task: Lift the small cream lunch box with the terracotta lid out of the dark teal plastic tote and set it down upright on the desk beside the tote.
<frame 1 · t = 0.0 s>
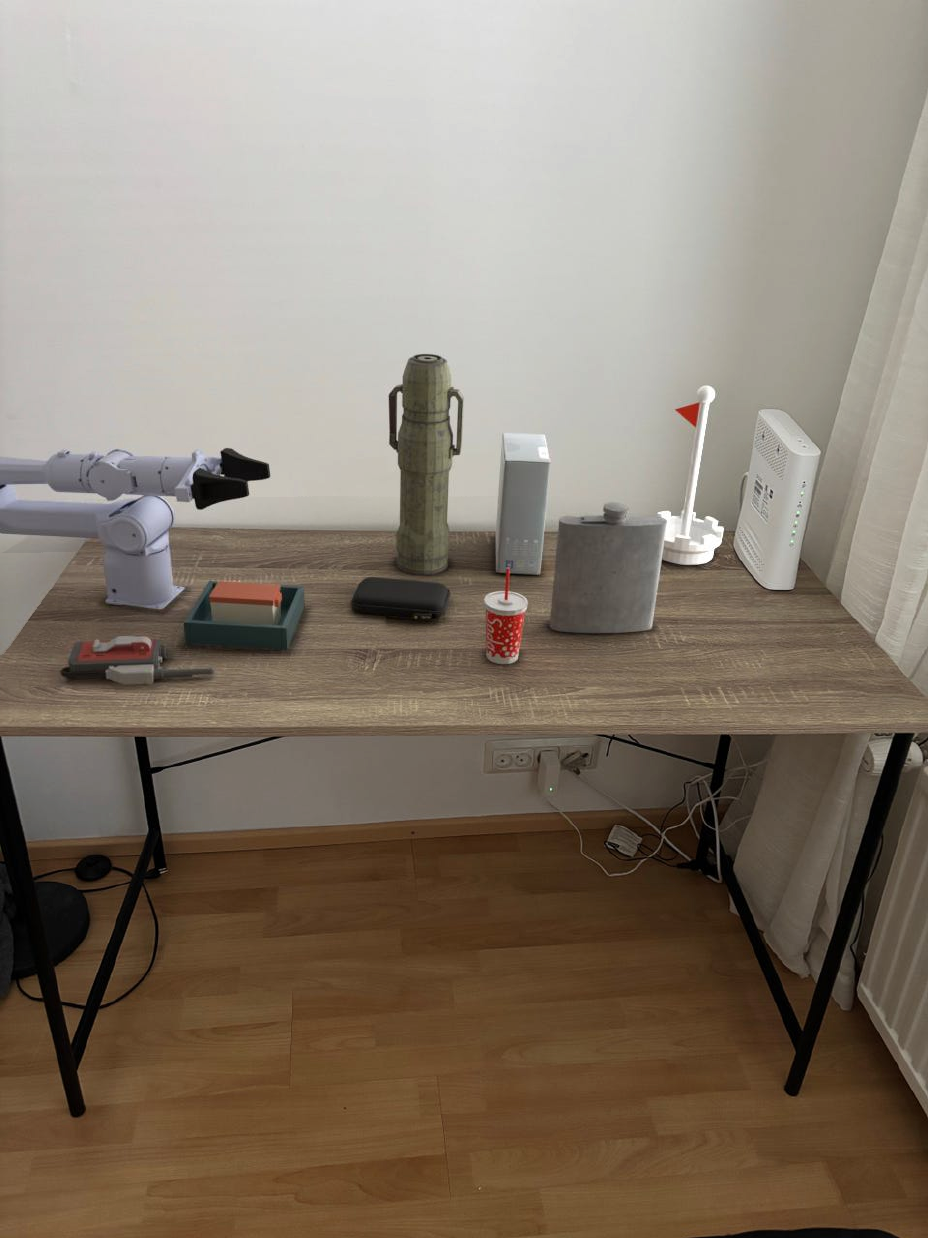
hand: (258, 479, 145), 22 cm above the table, tool horizontal, fingers open, 7 cm apart
lunchbox: (247, 623, 152), point 1 cm above the table, touching tote
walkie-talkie: (141, 672, 140), on the table
thermos: (422, 564, 174), on the table
carrying case: (400, 609, 159), on the table
flag stand: (681, 552, 183), on the table
beverage cup: (502, 657, 147), on the table
tote: (247, 627, 152), on the table
hip flask: (601, 628, 156), on the table
hard drive box: (516, 557, 179), on the table
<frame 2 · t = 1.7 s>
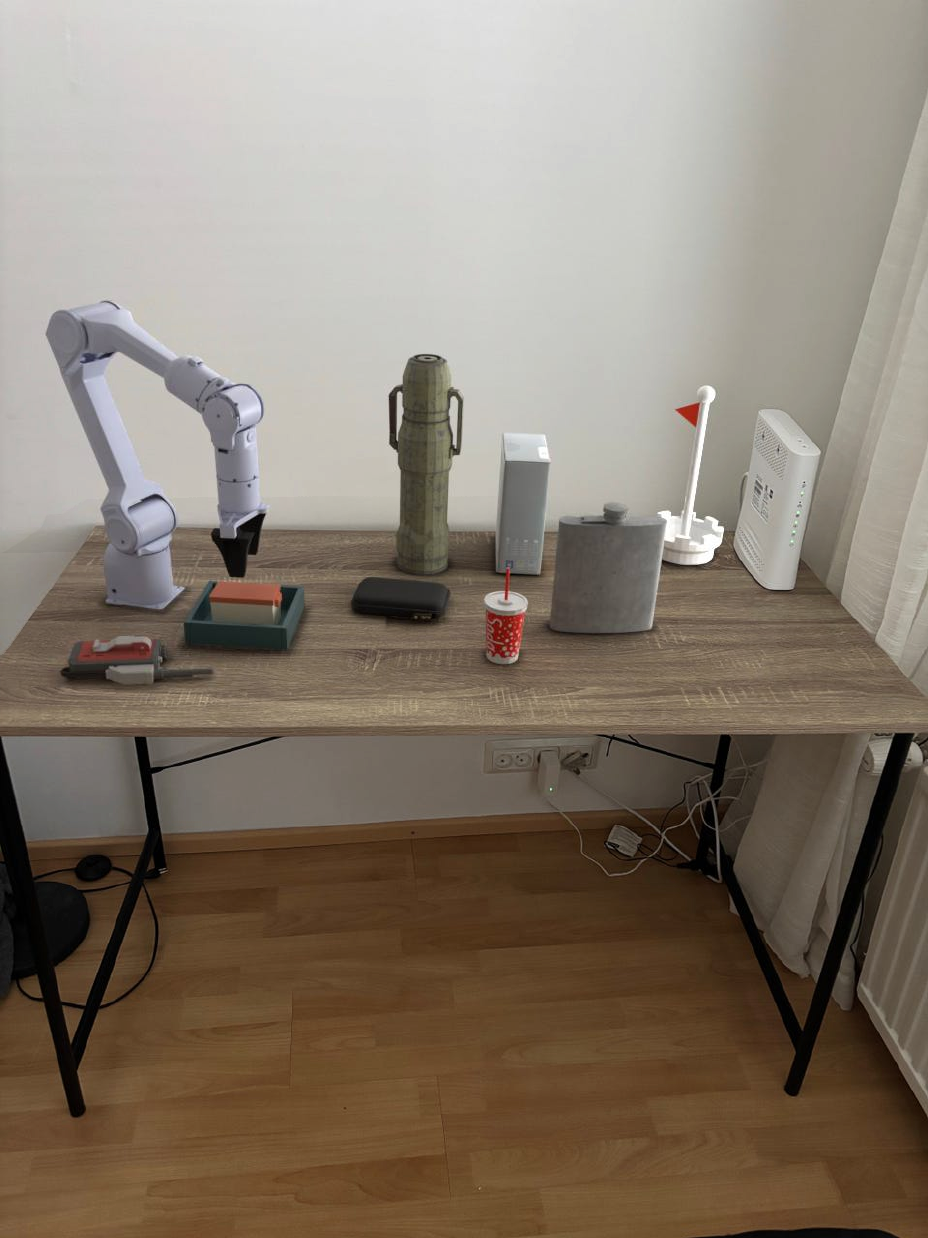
hand: (243, 565, 147), 10 cm above the table, tool pointing down, fingers open, 7 cm apart
nothing on the table moved.
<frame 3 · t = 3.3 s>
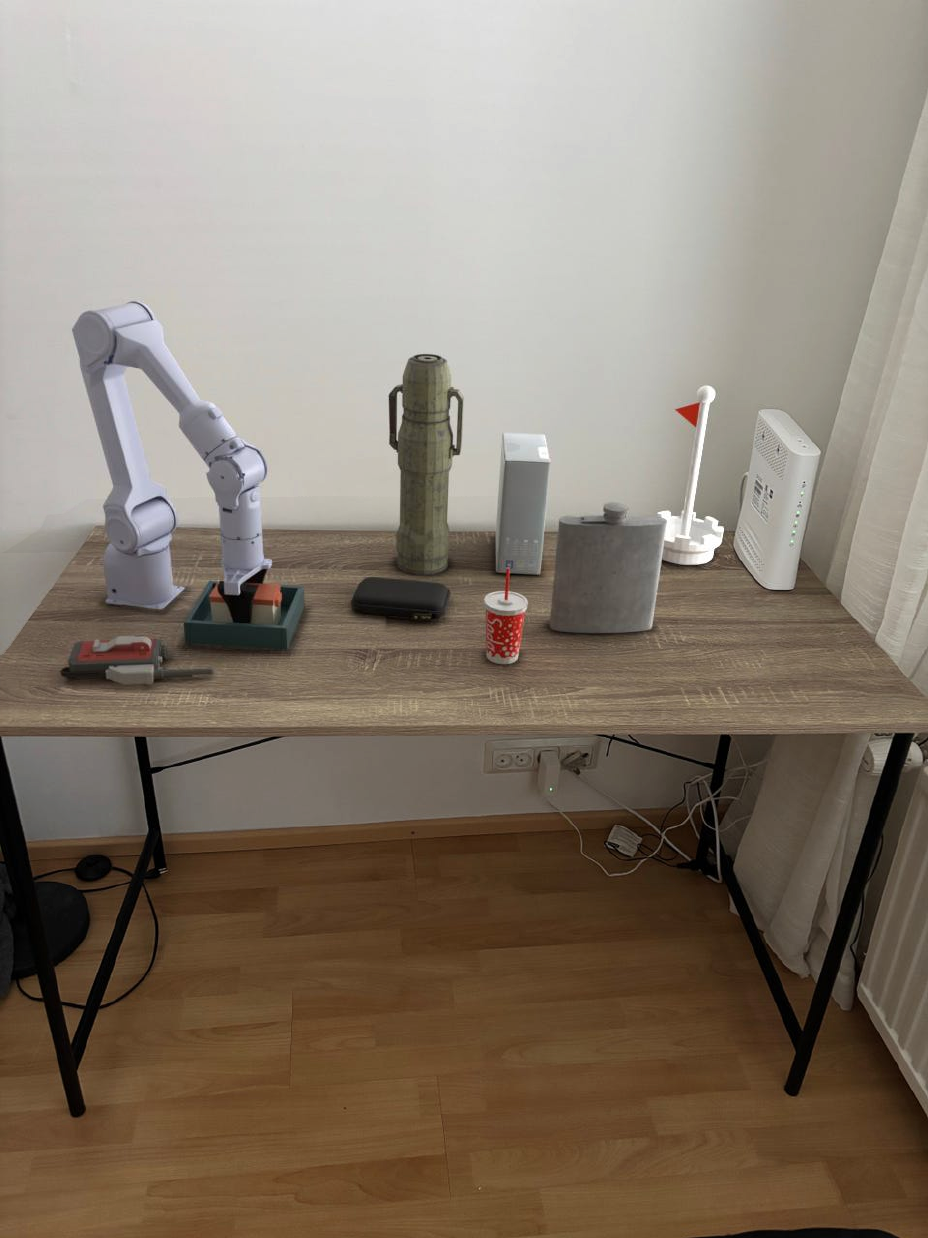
hand: (246, 617, 151), 2 cm above the table, tool pointing down, fingers closed on lunchbox, 5 cm apart
lunchbox: (247, 623, 152), point 1 cm above the table, touching gripper, tote
everything else where it was.
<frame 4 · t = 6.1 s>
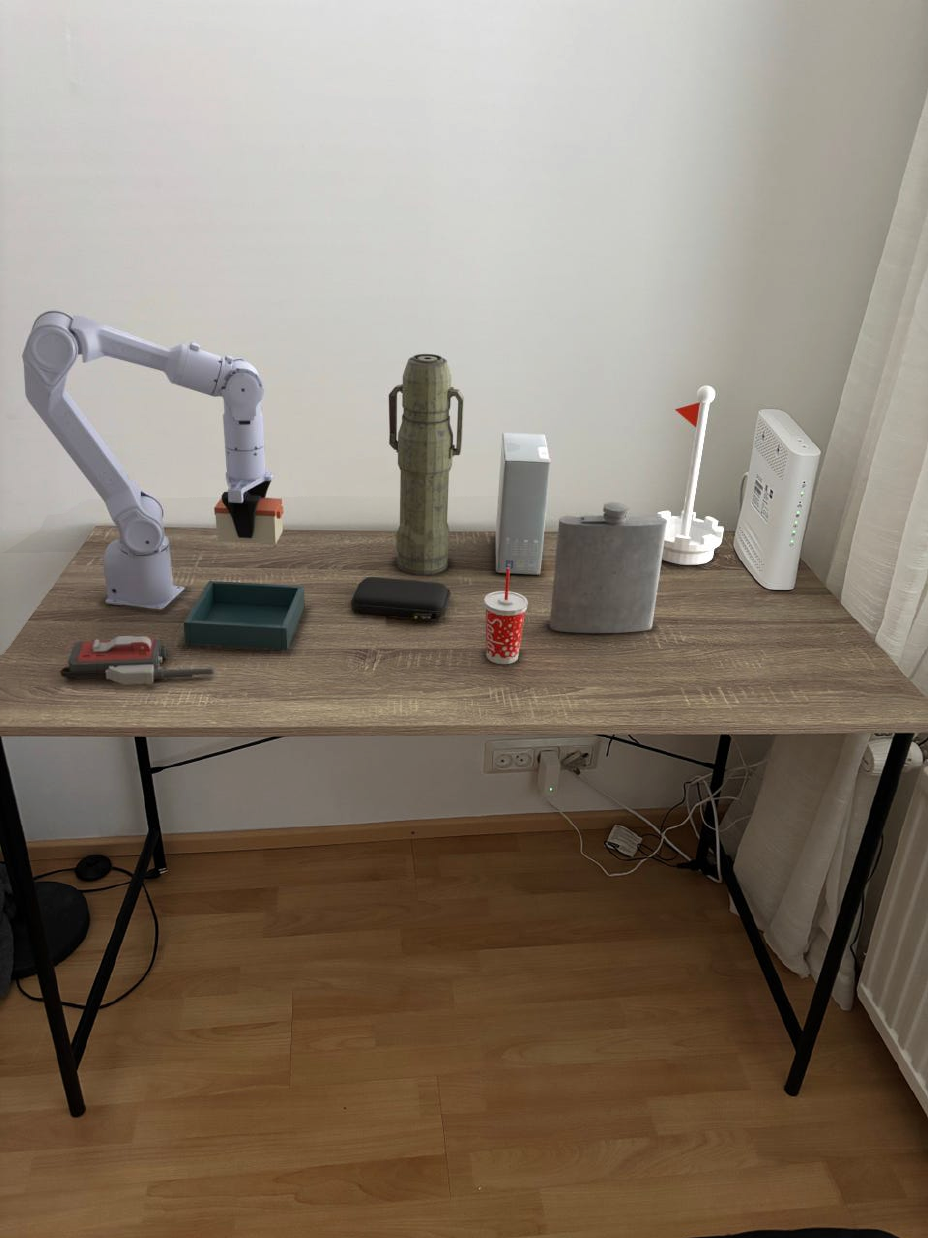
hand: (249, 529, 158), 10 cm above the table, tool pointing down, fingers closed on lunchbox, 5 cm apart
lunchbox: (250, 536, 159), point 9 cm above the table, touching gripper
everything else where it was.
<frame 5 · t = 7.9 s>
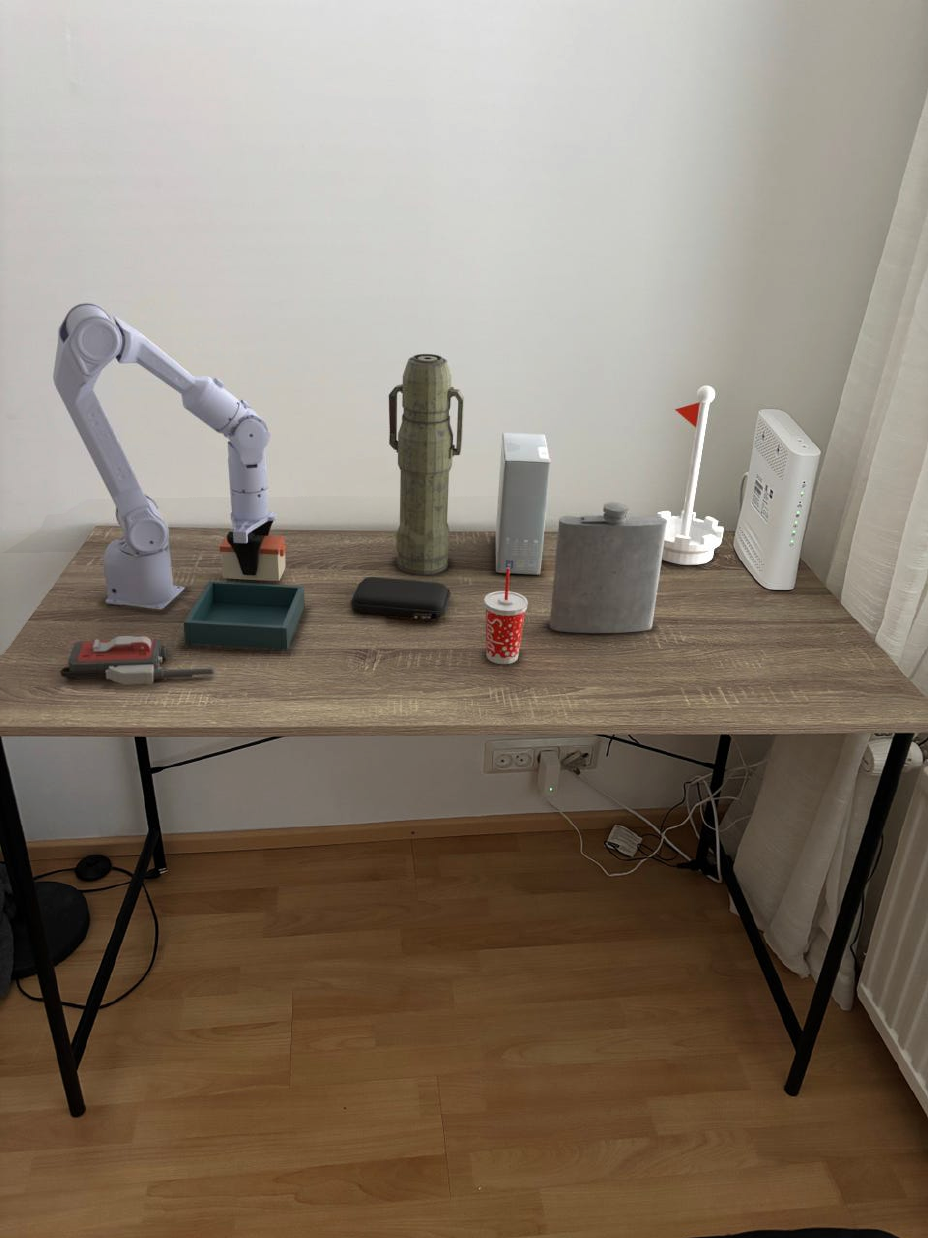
hand: (253, 566, 164), 3 cm above the table, tool pointing down, fingers closed on lunchbox, 5 cm apart
lunchbox: (254, 572, 165), point 2 cm above the table, touching gripper
everything else where it was.
when the fingers open (1 cm above the table, at t = 9.0 s): lunchbox stays where it is, on the table.
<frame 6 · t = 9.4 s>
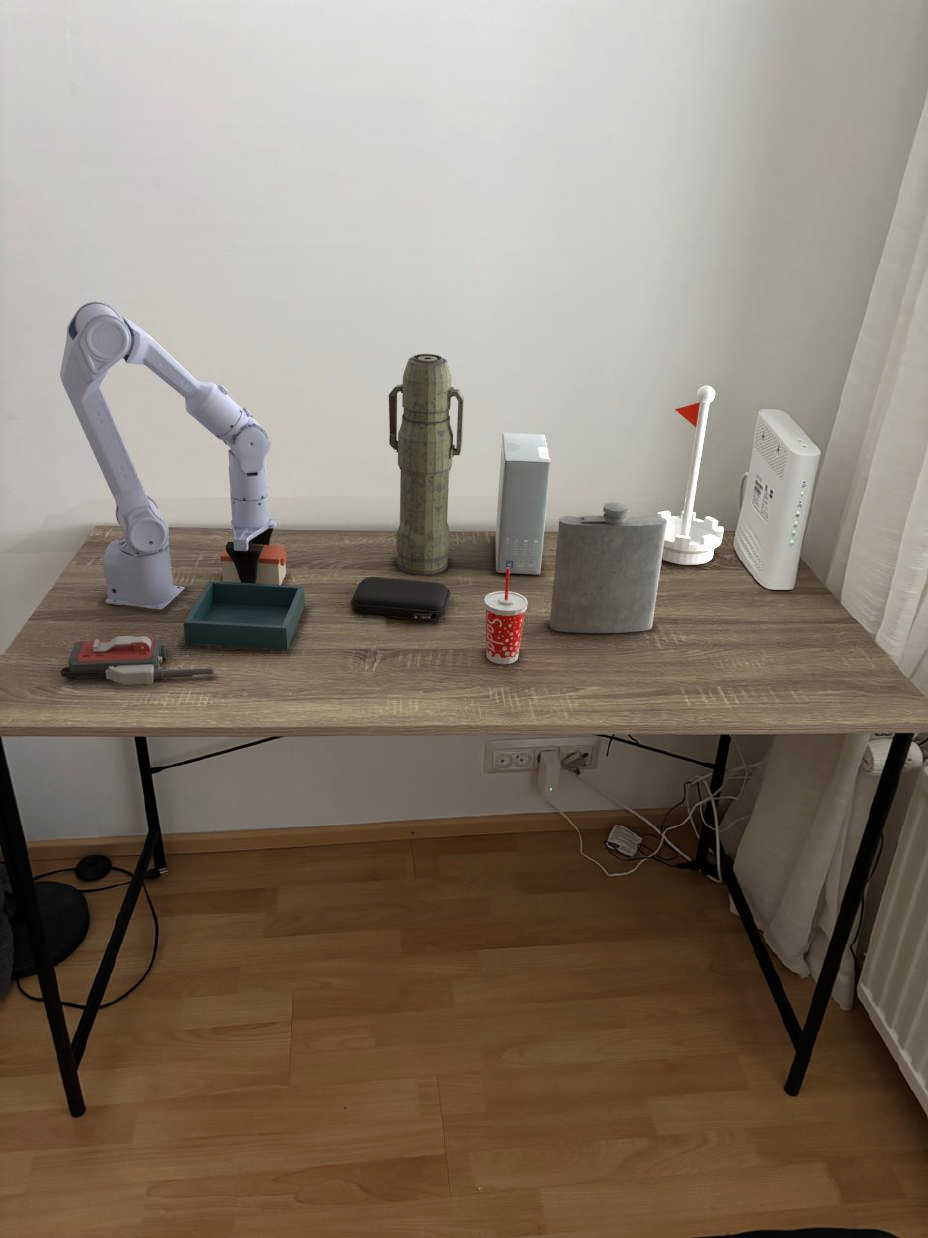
hand: (254, 574, 165), 1 cm above the table, tool pointing down, fingers open, 7 cm apart
lunchbox: (255, 582, 165), on the table
everything else where it was.
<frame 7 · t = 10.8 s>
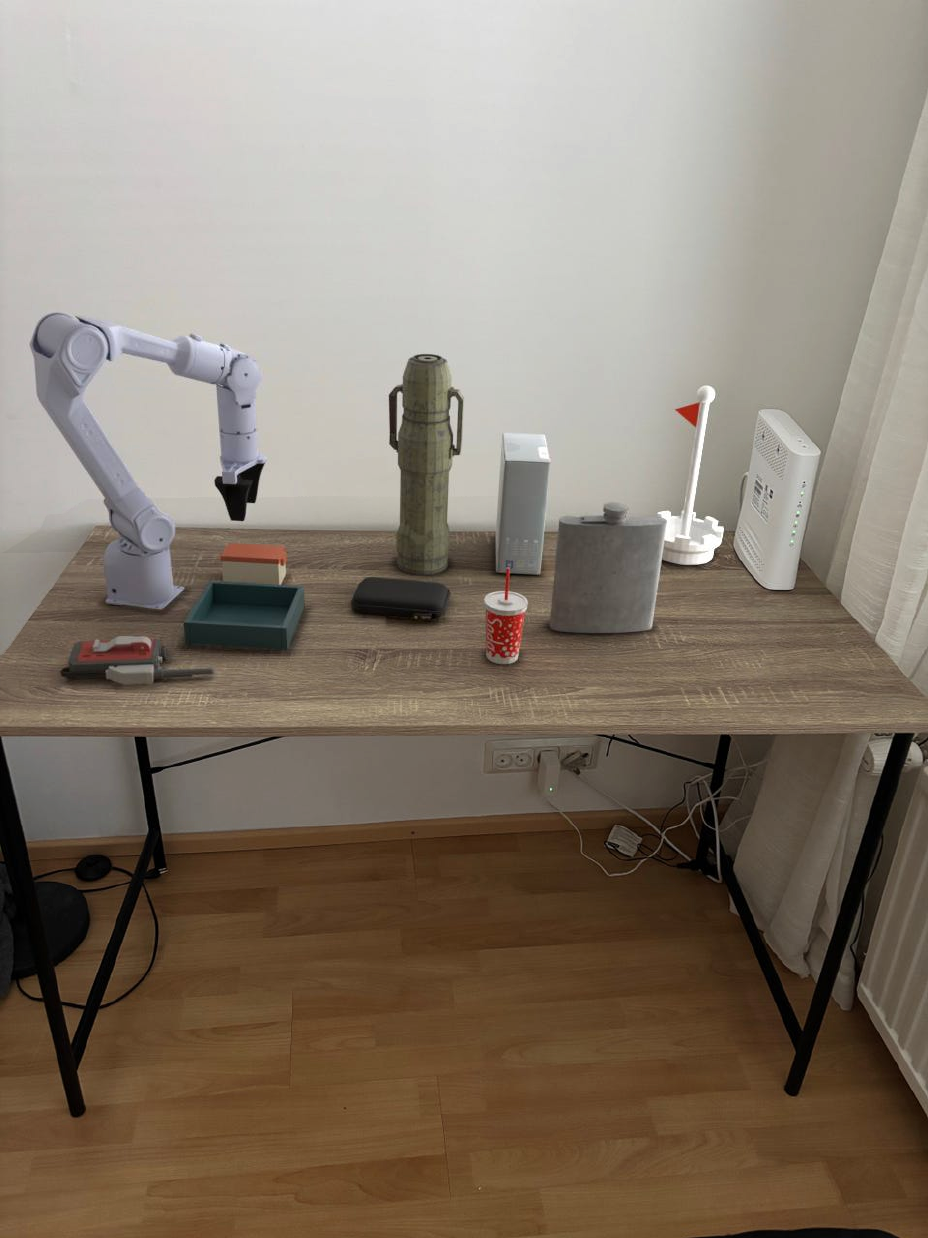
hand: (243, 511, 164), 10 cm above the table, tool pointing down, fingers open, 7 cm apart
nothing on the table moved.
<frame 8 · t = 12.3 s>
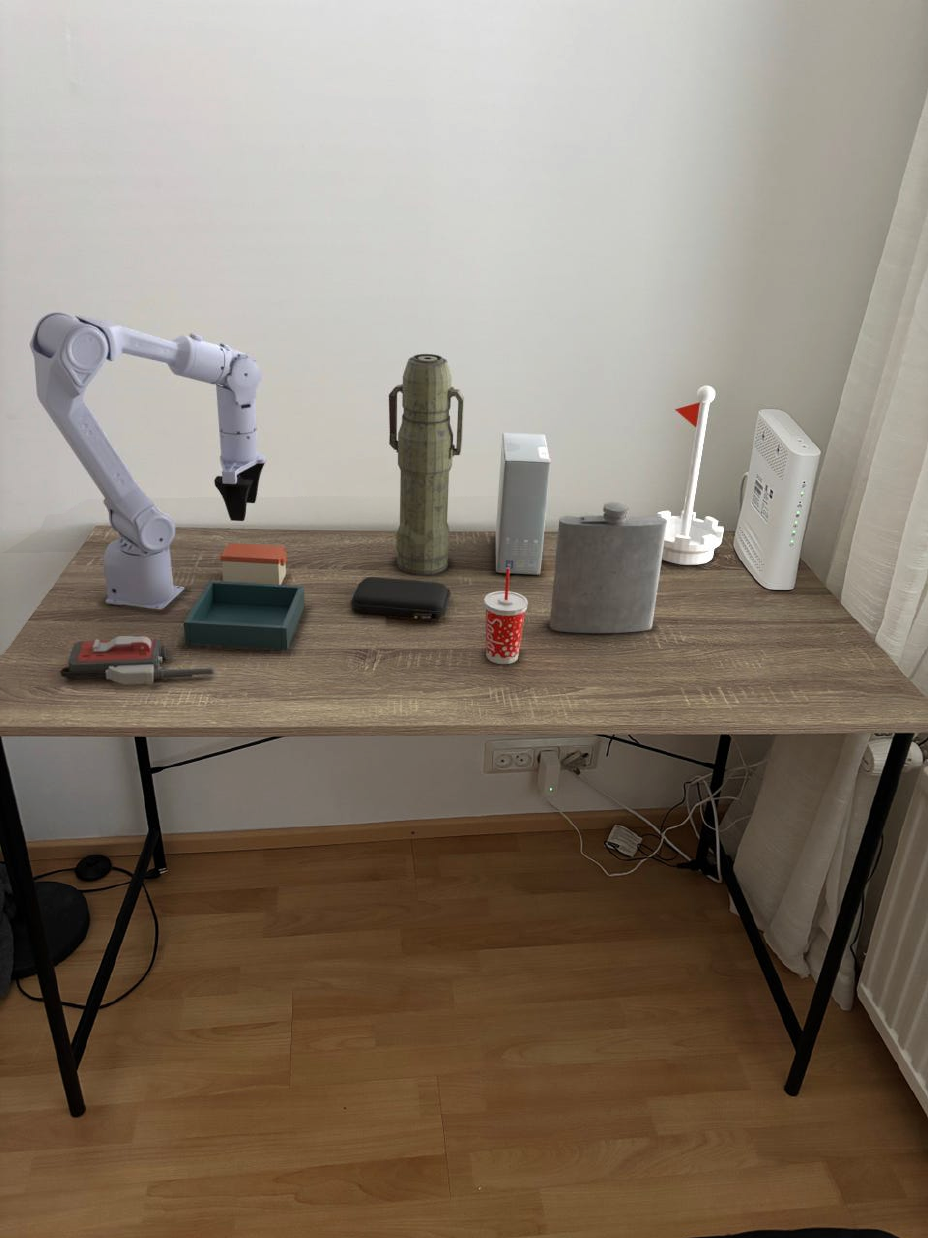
hand: (243, 510, 164), 10 cm above the table, tool pointing down, fingers open, 7 cm apart
nothing on the table moved.
at the end: lunchbox inside the target area (0.1 cm from its centre), on the table; lunchbox tilted 0°; the gripper is holding nothing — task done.
